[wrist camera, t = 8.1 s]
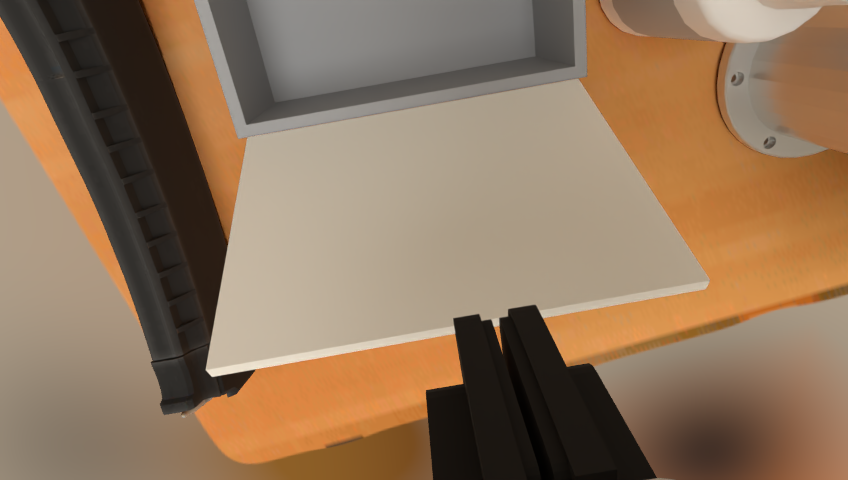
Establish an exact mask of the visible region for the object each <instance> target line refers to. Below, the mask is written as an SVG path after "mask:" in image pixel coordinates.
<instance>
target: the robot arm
mask: <svg viewBox="0 0 848 480" xmlns="http://www.w3.org/2000/svg"><path fill="white" fill-rule="evenodd" d="M731 78H732V79H731ZM717 92H718V103H719V107H720V111H721V114H722V118H723V119H724V121H725V123H726V125H727V127H728V129H729V131H730V132H731V133H732V134H733V135H734V136H735V137H736V138H737V139H738V140H739V141H740V142H741V143H743V144H744V145H746V146H747V147H749V148H750V149H753V150H755V151H758V152H760V153H763V154H766V155H770V156H775V157H779V158H798V157H804V156H810V155H814V154H817V153H819V152H822V151H825V150H828V149H832V150H836V151H839V152H842V153H846V154H848V5H830V6H822V8H821V9H820V10H819V11H818V12H817V14H815V15H814V16H813V17H812V18H810V19H809V20H808V21H806V22H805V23H804V24H802V25H801V26H800V27H798V28H797V29H796V30H794V31H792V32H790V33H787V34H785V35H782V36H780V37H778V38H775V39H773V40H770V41H767V42H755V43H731V42H727V43H726V46H725V48H724V52H723V55H722V58H721V62H720V65H719V72H718V80H717ZM453 322H454V329H455V335H456V341H457V347H458V353H459V359H460V365H461V371H462V377H463V384H461V385H455V386H449V387H443V388H437V389H431V390H426V400H427V412H428V423H429V435H430V446H431V459H432V471H433V480H673V479H663V478H657V477H656V476H655V474H654V472H653V470H652V468H651V467H650V465H649V463H648V461H647V460H646V458H645V456H644V454H643V453H642V451H641V449H640V447H639V446H638V444H637V442H636V440H635V438H634V437H633V435H632V433H631V431H630V430H629V428H628V426H627V425H626V423H625V421H624V419H623V417H622V416H621V414H620V412H619V410H618V409H617V407H616V405H615V403H614V402H613V400H612V398H611V396H610V395H609V393H608V391H607V389H606V388H605V386H604V384H603V382H602V380H601V379H600V377H599V375H598V373H597V372H596V370H595V369H594V367H593V366H592V365H591V364H589V363H588V364H582V365H576V366H570V367H567V366H566V364H565V362H564V360H563V358H562V356H561V354H560V352H559V350H558V348H557V346H556V344H555V342H554V340H553V338H552V336H551V334H550V332H549V330H548V328H547V326H546V324H545V322H544V320H543V318H542V316H541V314H540V312H539V310H538V308H537V306H536V305H529V306H523V307H517V308H511V309H508V316H507V317H501V318H499V326H500V334H501V342H502V351H503V354H502V351H501V348H500V345H499V342H498V338H497V335H496V332H495V329H494V326H493V323H492V320H491V319H489V320H483V321H481V317H480V314H475V315H469V316H463V317H457V318H453Z"/></svg>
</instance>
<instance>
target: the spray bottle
mask: <svg viewBox="0 0 848 480" xmlns="http://www.w3.org/2000/svg"><path fill="white" fill-rule="evenodd" d="M600 3H601V8H602V9H603V11H604V13H605V14H606V16H607V17H608V19H609V21H610V22H611V23H612V24H614V25H615V26H616V27H617V28H619V29H620V30H621V31H623V32H626V33H630V34H633V35H637V36H647V37H661V38H675V39H689V40H703V41H717V42H731V43H755V42H767V41H770V40H773V39H775V38H778V37H780V36H782V35H785V34H787V33H790V32H792V31H794V30H796V29H797V28H798V27H800V26H801V25H802V24H804V23H805V22H806V21H808V20H809V19H810V18H812V17H813V16H814V15H815V14H817V12H818V11H819V10H820V9H821V8H822V6H830V5H848V0H600Z"/></svg>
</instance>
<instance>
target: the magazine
mask: <svg viewBox="0 0 848 480" xmlns="http://www.w3.org/2000/svg"><path fill="white" fill-rule="evenodd" d="M0 17H1V19H2V20H3V22H4V24H5V26H6V27H7V29H8V31H9V33H10V35H11V36H12V38H13V40H14V42H15V44H16V45H17V47H18V49H19V51H20V53H21V54H22V56H23V58H24V60H25V62H26V64H27V66H28V68H29V70H30V71H31V73H32V75H33V77H34V79H35V81H36V83H37V85H38V87H39V89H40V91H41V93H42V95H43V98H44V100H45V102H46V104H47V106H48V108H49V110H50V112H51V114H52V117H53V119H54V121H55V123H56V125H57V127H58V129H59V131H60V133H61V135H62V137H63V139H64V141H65V143H66V145H67V147H68V149H69V151H70V154H71V156H72V158H73V160H74V162H75V164H76V166H77V168H78V170H79V172H80V174H81V176H82V178H83V180H84V182H85V184H86V187H87V189H88V191H89V193H90V195H91V198H92V200H93V202H94V204H95V207H96V209H97V211H98V213H99V216H100V218H101V221H102V223H103V225H104V228H105V230H106V233H107V235H108V237H109V240H110V242H111V245H112V247H113V250H114V253H115V255H116V257H117V260H118V262H119V265H120V267H121V270H122V272H123V275H124V277H125V280H126V283H127V285H128V288H129V291H130V294H131V297H132V300H133V302H134V305H135V308H136V311H137V314H138V317H139V320H140V323H141V326H142V329H143V332H144V335H145V338H146V341H147V344H148V347H149V350H150V354H151V357H152V360H153V361H152V362H151V364H152V367H153V369H154V371H155V374H156V376H157V379H158V382H159V385H160V389H161V393H162V401H161V403H160V406H161V409H162V412H163V414H164V415H166V414H172V413H178V412H182V414H181V417H182V418H184V417H186V416H188V415H190V414H192V413H194V412H195V411H197V410H198V409H199V408H200V407H201V406H203V405H204V404H205V403H206V402H208V401H210V400H211V399H212V398H213V397H219V396H221V395H224V394H226V393H227V396H228V397H230V396H233V395H235V394H237V393H238V391H239V390H240V389H241V388H242V386H243V385H244V384H245V383H246V381H247V380H248V379H249V378H250V376H251V375H252V374H253V373H254V371H255V370H256V369H254V370H248V371H243V372H237V373H232V374H226V375H220V376H215V377H212V376H211V375H210V374H209V373H208V372H207V371H206V365H207V359H208V354H209V348H210V343H211V337H212V332H213V326H214V321H215V315H216V309H217V304H218V298H219V293H220V287H221V282H222V276H223V271H224V265H225V259H226V254H227V246H226V243H225V239H224V235H223V232H222V228H221V225H220V222H219V219H218V215H217V212H216V209H215V206H214V202H213V199H212V196H211V193H210V190H209V187H208V184H207V181H206V178H205V174H204V172H203V169H202V166H201V163H200V160H199V157H198V154H197V151H196V149H195V146H194V143H193V140H192V137H191V134H190V132H189V129H188V126H187V123H186V120H185V118H184V115H183V112H182V109H181V107H180V104H179V101H178V99H177V96H176V94H175V91H174V88H173V86H172V83H171V80H170V78H169V75H168V73H167V70H166V67H165V65H164V62H163V60H162V57H161V55H160V52H159V49H158V47H157V44H156V42H155V39H154V37H153V34H152V32H151V30H150V27H149V25H148V22H147V20H146V17H145V15H144V12H143V10H142V7H141V5H140V3H139V0H0Z"/></svg>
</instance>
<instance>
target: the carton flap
mask: <svg viewBox="0 0 848 480" xmlns="http://www.w3.org/2000/svg"><path fill="white" fill-rule="evenodd" d="M709 282H710V279H709V278H708V276H707V275H706V273H705V271H704V270H703V268H702V267H701V265H700V264H699V262H698V261H697V259H696V258H695V256H694V255H693V253H692V252H691V250H690V249H689V247H688V246H687V244H686V242H685V241H684V239H683V238H682V236H681V235H680V233H679V232H678V230H677V229H676V227H675V226H674V224H673V223H672V221H671V220H670V218H669V216H668V215H667V213H666V212H665V210H664V209H663V207H662V206H661V204H660V203H659V201H658V200H657V198H656V197H655V195H654V194H653V192H652V190H651V189H650V187H649V186H648V184H647V183H646V181H645V180H644V178H643V177H642V175H641V174H640V172H639V171H638V169H637V168H636V166H635V165H634V163H633V161H632V160H631V158H630V157H629V155H628V154H627V152H626V151H625V149H624V148H623V146H622V145H621V143H620V142H619V140H618V139H617V137H616V135H615V134H614V132H613V131H612V129H611V128H610V126H609V125H608V123H607V122H606V120H605V119H604V117H603V116H602V114H601V113H600V111H599V110H598V108H597V106H596V105H595V103H594V102H593V100H592V99H591V97H590V96H589V94H588V93H587V91H586V90H585V88H584V87H583V85H582V84H581V82H580V80H579V79H573V80H567V81H562V82H556V83H550V84H545V85H539V86H534V87H528V88H522V89H517V90H511V91H506V92H500V93H494V94H489V95H483V96H477V97H472V98H466V99H461V100H455V101H449V102H444V103H438V104H433V105H427V106H421V107H416V108H410V109H404V110H399V111H393V112H388V113H382V114H376V115H371V116H365V117H360V118H354V119H348V120H343V121H337V122H332V123H326V124H320V125H315V126H309V127H303V128H298V129H292V130H287V131H281V132H275V133H270V134H264V135H259V136H253V137H247V143H246V148H245V154H244V159H243V165H242V170H241V176H240V182H239V187H238V193H237V198H236V204H235V209H234V215H233V220H232V226H231V232H230V237H229V243H228V248H227V254H226V259H225V265H224V271H223V276H222V282H221V287H220V293H219V298H218V304H217V309H216V315H215V321H214V326H213V332H212V337H211V343H210V348H209V354H208V359H207V365H206V371H207V372H208V373H209V374H210V375H211V376H212V377H215V376H220V375H226V374H232V373H237V372H243V371H248V370H254V369H260V368H265V367H271V366H277V365H282V364H288V363H293V362H299V361H305V360H310V359H316V358H321V357H327V356H333V355H338V354H344V353H350V352H355V351H361V350H366V349H372V348H378V347H383V346H389V345H395V344H400V343H406V342H411V341H417V340H423V339H428V338H434V337H439V336H445V335H451V334H455V329H454V322H453V318H457V317H463V316H469V315H475V314H480V317H481V321H483V320H489V319H491V320H492V323H493V326H494V327H496V326H499V318H501V317H507V316H508V309H511V308H517V307H523V306H529V305H536V306H537V308H538V310H539V312H540V314H541V316H542V318H546V317H552V316H557V315H563V314H569V313H574V312H580V311H586V310H591V309H597V308H602V307H608V306H614V305H619V304H625V303H630V302H636V301H642V300H647V299H653V298H659V297H664V296H670V295H675V294H681V293H687V292H692V291H698V290H704V289H706V288H707V286H708V284H709Z"/></svg>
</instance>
